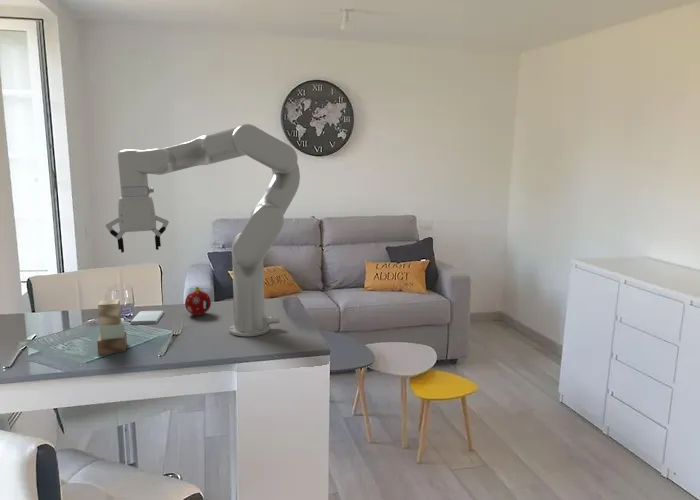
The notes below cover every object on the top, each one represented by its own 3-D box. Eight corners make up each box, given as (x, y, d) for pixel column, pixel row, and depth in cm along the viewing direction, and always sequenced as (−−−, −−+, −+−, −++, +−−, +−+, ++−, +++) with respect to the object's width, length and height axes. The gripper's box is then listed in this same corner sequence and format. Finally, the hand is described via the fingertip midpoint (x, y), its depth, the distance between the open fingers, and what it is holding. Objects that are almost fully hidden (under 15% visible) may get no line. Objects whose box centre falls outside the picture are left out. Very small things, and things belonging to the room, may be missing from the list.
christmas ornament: (202, 310, 195) (201, 282, 194) (215, 314, 189) (215, 286, 188) (180, 314, 189) (179, 286, 187) (193, 320, 183) (192, 291, 182)
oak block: (120, 319, 157) (119, 299, 156) (118, 324, 152) (117, 303, 151) (102, 320, 155) (100, 300, 154) (99, 326, 151) (97, 305, 150)
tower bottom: (126, 344, 160) (126, 331, 159) (125, 352, 153) (124, 338, 152) (100, 346, 157) (99, 333, 157) (98, 354, 151) (97, 341, 150)
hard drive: (156, 320, 179) (163, 310, 191) (130, 321, 178) (139, 310, 190) (156, 325, 179) (164, 314, 191) (130, 326, 178) (139, 315, 190)
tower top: (124, 331, 159) (123, 318, 158) (124, 337, 153) (123, 323, 153) (102, 333, 157) (101, 320, 156) (100, 339, 151) (99, 326, 150)
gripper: (165, 190, 165) (169, 246, 168) (103, 193, 159) (108, 251, 162) (167, 192, 158) (171, 250, 161) (101, 194, 152) (107, 255, 155)
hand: (140, 250), depth 162 cm, fingers open, 9 cm apart
